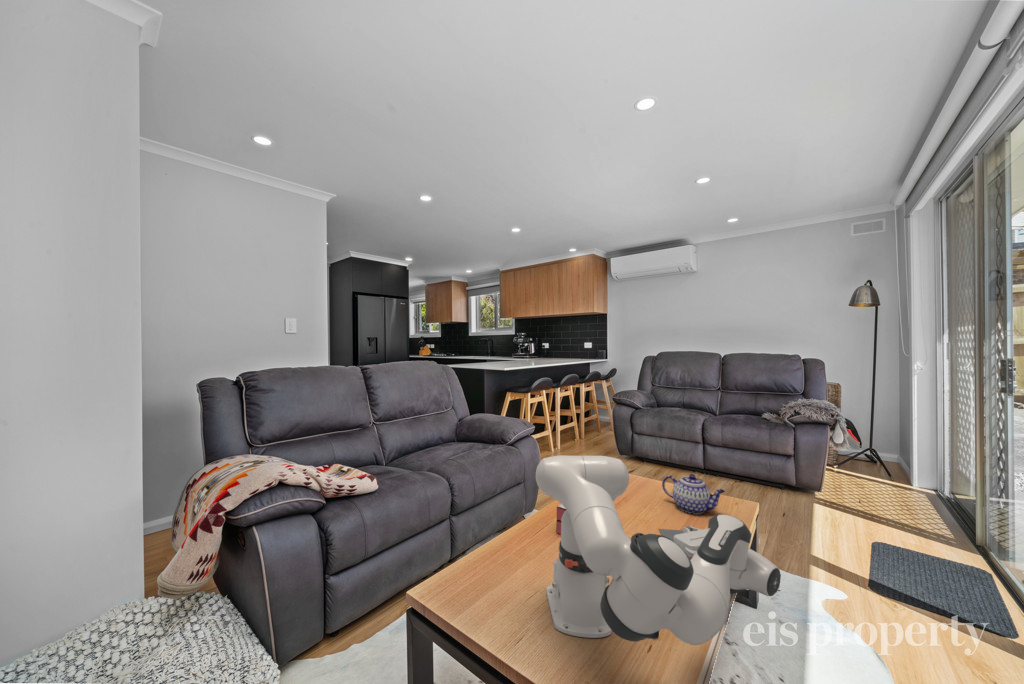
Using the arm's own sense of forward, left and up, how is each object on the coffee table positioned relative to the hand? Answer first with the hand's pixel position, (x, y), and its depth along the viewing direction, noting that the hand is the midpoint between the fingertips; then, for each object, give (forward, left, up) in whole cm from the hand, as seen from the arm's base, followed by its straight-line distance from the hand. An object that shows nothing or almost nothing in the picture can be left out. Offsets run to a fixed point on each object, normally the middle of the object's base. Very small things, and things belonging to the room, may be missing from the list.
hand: (686, 528), depth 125 cm
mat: (+10, -4, -11) cm, 15 cm away
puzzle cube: (+13, +35, -11) cm, 39 cm away
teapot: (+41, -16, -11) cm, 46 cm away
